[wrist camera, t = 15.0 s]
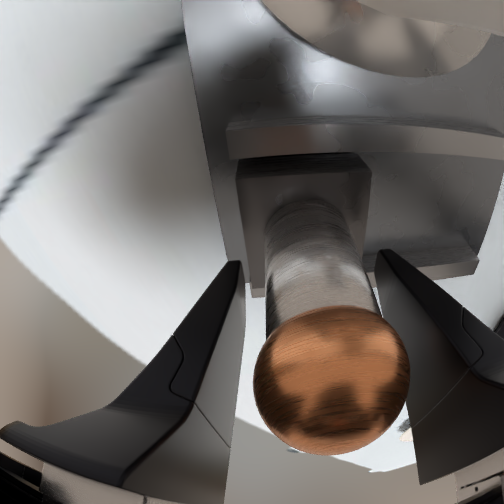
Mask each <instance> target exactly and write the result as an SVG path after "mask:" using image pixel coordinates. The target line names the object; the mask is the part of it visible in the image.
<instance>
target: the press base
mask: <svg viewBox="0 0 504 504" xmlns="http://www.w3.org/2000/svg"><path fill="white" fill-rule="evenodd" d="M181 5H182V12H183V19H184V25H185V32H186V38H187V45H188V51H189V57H190V63H191V69H192V75H193V81H194V87H195V93H196V99H197V105H198V110H199V116H200V121H201V127H202V133H203V138H204V143H205V149H206V154H207V159H208V165H209V170H210V175H211V180H212V185H213V191H214V196H215V201H216V206H217V211H218V216H219V221H220V225H221V230H222V235H223V240H224V245H225V250H226V254H227V259H228V261H231V260H240V261H241V262H242V266H243V272H244V278H245V283H250V289H251V295H252V298H257V297H265V288H257V289H252V285H251V278H250V272H249V266H248V259H247V253H246V247H245V240H244V234H243V228H242V221H241V215H240V208H239V202H238V195H237V189H236V183H235V178H236V172H237V166H238V161H240V160H250V159H260V158H272V157H286V156H302V155H322V154H358V155H359V156H360V158H361V159H362V160H363V161H364V162H365V164H366V165H367V166H368V167H369V169H370V170H371V171H372V179H371V190H370V201H369V210H368V218H367V227H366V234H365V241H364V248H363V255H362V262H363V265H364V267H365V270H366V272H367V275H368V278H369V281H370V283H371V286H372V288H374V287H377V285H376V280H375V276H374V267H375V262H376V257H377V252H378V250H380V249H392V250H393V251H394V252H396V253H397V254H398V255H400V256H401V257H402V258H404V259H405V260H406V261H408V262H409V263H410V264H412V265H413V266H414V267H416V268H417V269H418V270H419V271H421V272H422V273H423V274H424V275H426V276H427V277H428V278H430V279H431V280H438V279H446V278H453V277H459V276H466V275H472V274H474V272H475V270H476V268H477V265H478V263H479V259H478V257H477V255H478V253H479V250H480V248H481V245H482V242H483V240H484V237H485V234H486V231H487V228H488V225H489V222H490V219H491V216H492V213H493V210H494V206H495V203H496V200H497V196H498V192H499V189H500V185H501V181H502V177H503V172H504V37H503V36H499V35H496V34H492V33H488V32H484V31H480V30H476V29H471V28H467V27H462V26H456V25H451V24H445V23H438V22H431V21H422V20H415V19H408V18H401V17H393V16H388V15H386V14H384V13H382V12H380V11H377V10H375V9H373V8H371V7H368V6H366V5H364V4H361V3H359V2H358V1H356V0H181Z"/></svg>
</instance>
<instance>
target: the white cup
mask: <svg viewBox="0 0 504 504" xmlns="http://www.w3.org/2000/svg"><path fill="white" fill-rule="evenodd" d="M356 1H358V2H359V3H361V4H364V5H366V6H368V7H371V8H373V9H375V10H377V11H380V12H382V13H384V14H386V15H388V16H393V17H401V18H408V19H415V20H422V21H431V22H438V23H445V24H451V25H456V26H462V27H467V28H471V29H476V30H480V31H484V32H488V33H492V34H496V35H499V36H503V37H504V0H356Z"/></svg>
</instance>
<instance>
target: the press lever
mask: <svg viewBox="0 0 504 504" xmlns="http://www.w3.org/2000/svg"><path fill="white" fill-rule="evenodd" d="M371 179H372V171H371V170H370V169H369V167H368V166H367V165H366V164H365V162H364V161H363V160H362V159H361V158H360V156H359V155H358V154H322V155H302V156H286V157H272V158H260V159H250V160H240V161H238V166H237V172H236V178H235V183H236V189H237V195H238V202H239V208H240V215H241V221H242V228H243V234H244V240H245V247H246V253H247V259H248V266H249V272H250V278H251V285H252V289H257V288H265V297H266V341H265V343H264V345H263V346H262V348H261V351H260V353H259V355H258V358H257V361H256V365H255V369H254V375H253V391H254V398H255V402H256V406H257V408H258V411H259V413H260V415H261V417H262V419H263V421H264V422H265V424H266V425H267V427H268V428H269V429H270V430H271V431H272V432H273V433H274V434H275V435H276V436H277V437H278V438H279V439H280V440H282V441H283V442H285V443H286V444H288V445H289V446H291V447H293V448H295V449H298V450H300V451H303V452H306V453H310V454H317V455H338V454H344V453H348V452H352V451H355V450H358V449H360V448H362V447H364V446H366V445H368V444H370V443H371V442H373V441H374V440H376V439H377V438H379V437H380V436H381V435H382V434H383V433H384V432H385V431H386V430H388V429H389V427H390V426H391V425H392V424H393V422H394V421H395V420H396V419H397V417H398V415H399V414H400V412H401V410H402V408H403V406H404V403H405V401H406V398H407V395H408V391H409V387H410V362H409V358H408V354H407V351H406V348H405V346H404V343H403V341H402V340H401V338H400V336H399V335H398V333H397V332H396V330H395V329H394V328H393V327H392V326H391V325H390V323H388V322H387V321H386V320H385V319H384V318H382V315H381V312H380V309H379V306H378V303H377V300H376V297H375V294H374V292H373V289H372V286H371V283H370V281H369V278H368V275H367V272H366V270H365V267H364V265H363V262H362V255H363V248H364V241H365V234H366V227H367V218H368V210H369V201H370V190H371Z"/></svg>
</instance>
